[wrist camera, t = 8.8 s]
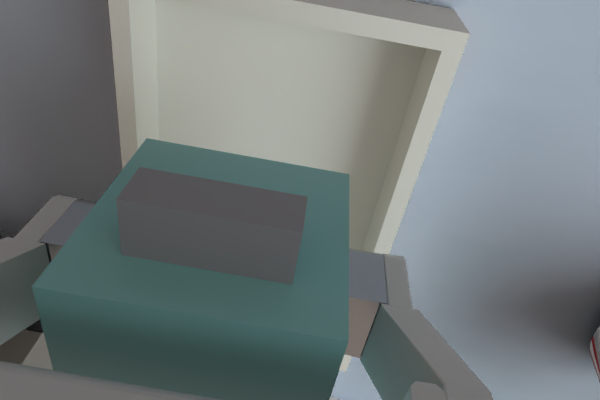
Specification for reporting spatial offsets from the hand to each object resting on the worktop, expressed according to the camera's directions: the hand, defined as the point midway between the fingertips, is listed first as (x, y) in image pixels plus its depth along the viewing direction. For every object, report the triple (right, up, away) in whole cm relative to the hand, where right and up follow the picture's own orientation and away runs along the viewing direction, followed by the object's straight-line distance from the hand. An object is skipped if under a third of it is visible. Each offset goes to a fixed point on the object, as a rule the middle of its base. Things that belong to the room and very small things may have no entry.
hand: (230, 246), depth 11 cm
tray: (0, +2, +9) cm, 9 cm away
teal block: (0, -3, +4) cm, 5 cm away
